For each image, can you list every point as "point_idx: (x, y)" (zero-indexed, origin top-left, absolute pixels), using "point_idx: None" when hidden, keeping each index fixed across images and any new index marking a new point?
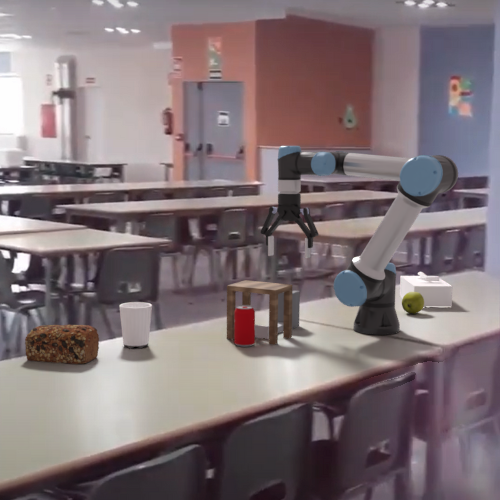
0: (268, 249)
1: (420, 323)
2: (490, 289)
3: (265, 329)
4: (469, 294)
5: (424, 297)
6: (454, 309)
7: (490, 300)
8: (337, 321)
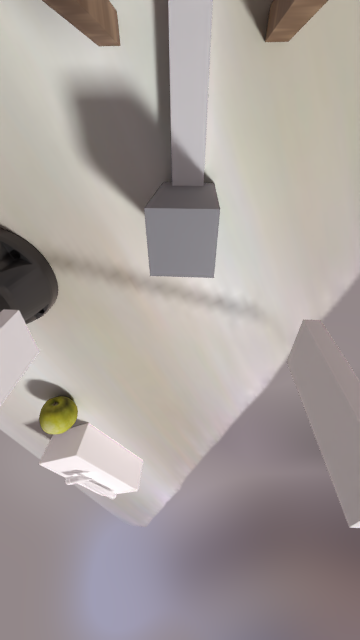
0: (339, 356)
1: None
2: (87, 492)
3: None
4: None
5: (72, 440)
6: None
7: None
8: (122, 314)
